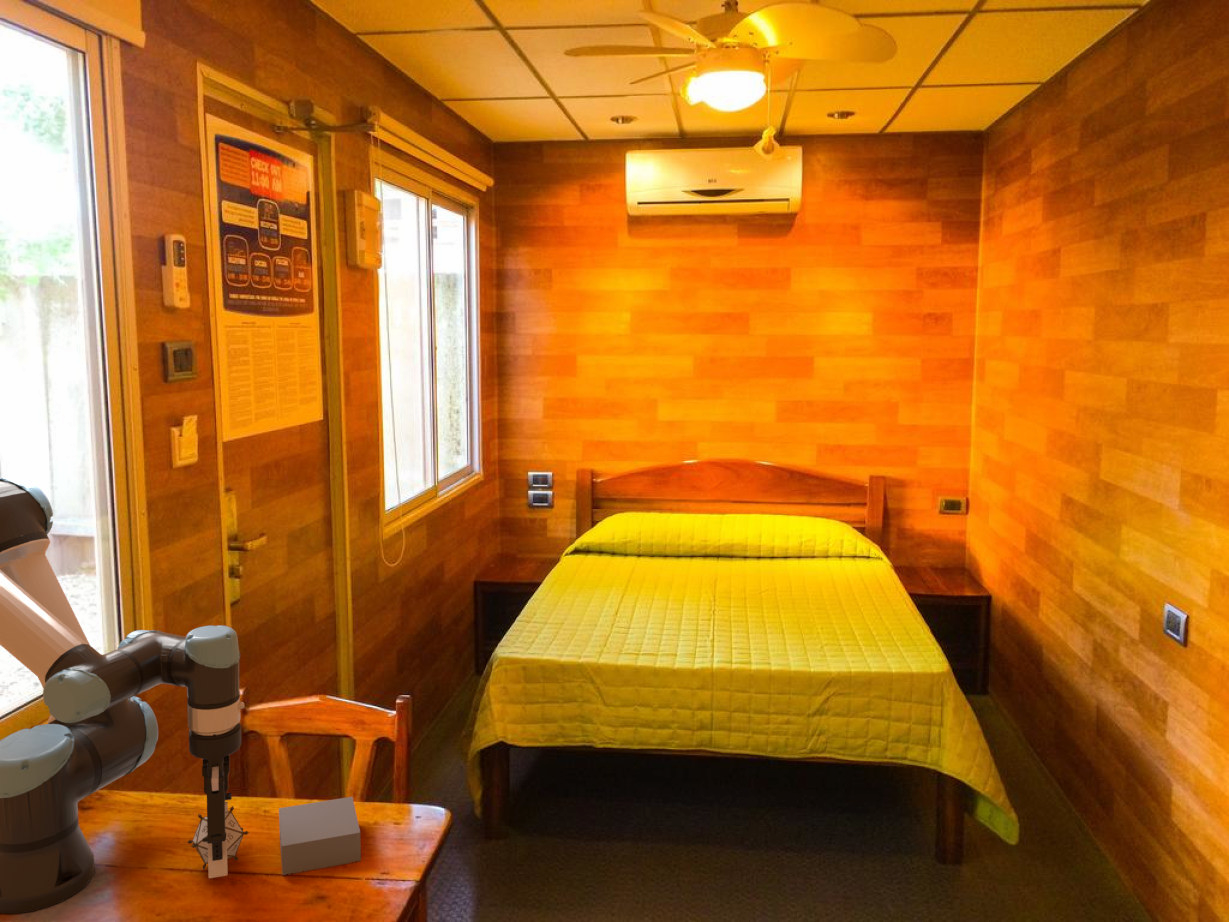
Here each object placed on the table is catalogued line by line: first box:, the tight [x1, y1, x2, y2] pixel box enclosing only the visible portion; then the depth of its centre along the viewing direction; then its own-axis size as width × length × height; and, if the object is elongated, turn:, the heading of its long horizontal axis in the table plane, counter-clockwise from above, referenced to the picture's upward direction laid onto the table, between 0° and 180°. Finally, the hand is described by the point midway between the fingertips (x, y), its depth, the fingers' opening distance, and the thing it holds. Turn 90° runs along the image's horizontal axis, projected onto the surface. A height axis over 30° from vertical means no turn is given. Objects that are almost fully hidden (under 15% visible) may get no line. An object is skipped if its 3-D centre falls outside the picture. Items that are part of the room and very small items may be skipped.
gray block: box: [278, 796, 362, 876], centre depth 154 cm, size 12×12×5 cm
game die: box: [186, 805, 250, 870], centre depth 148 cm, size 9×8×10 cm
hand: (219, 857), depth 149 cm, fingers closed on game die, 9 cm apart
